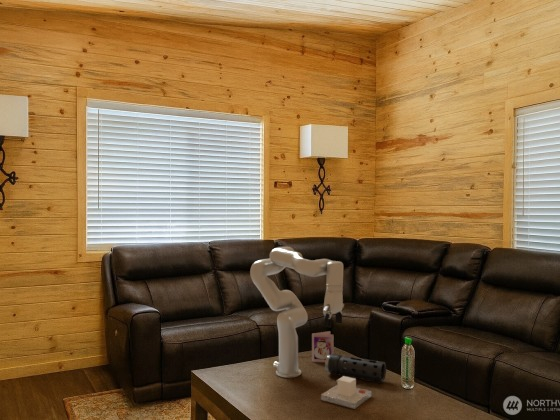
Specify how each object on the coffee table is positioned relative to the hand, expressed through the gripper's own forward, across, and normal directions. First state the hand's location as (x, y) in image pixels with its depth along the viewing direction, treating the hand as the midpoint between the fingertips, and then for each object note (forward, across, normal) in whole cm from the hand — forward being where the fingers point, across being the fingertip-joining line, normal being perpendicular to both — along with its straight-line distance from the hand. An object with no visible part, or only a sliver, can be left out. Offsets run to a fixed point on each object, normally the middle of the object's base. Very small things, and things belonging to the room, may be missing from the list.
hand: (333, 324), depth 231 cm
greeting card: (+30, -28, -22) cm, 46 cm away
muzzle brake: (+29, -14, +5) cm, 32 cm away
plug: (+27, +9, +13) cm, 32 cm away
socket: (+28, +9, +13) cm, 32 cm away
